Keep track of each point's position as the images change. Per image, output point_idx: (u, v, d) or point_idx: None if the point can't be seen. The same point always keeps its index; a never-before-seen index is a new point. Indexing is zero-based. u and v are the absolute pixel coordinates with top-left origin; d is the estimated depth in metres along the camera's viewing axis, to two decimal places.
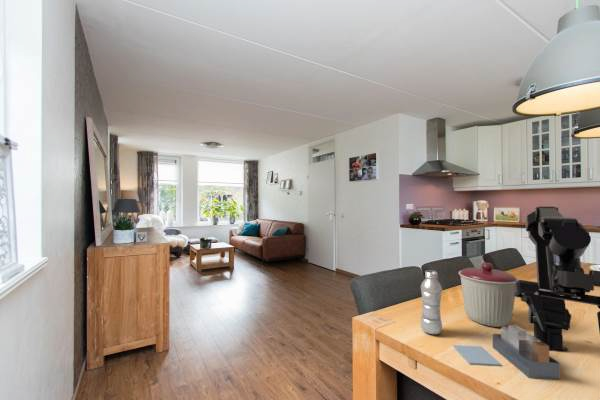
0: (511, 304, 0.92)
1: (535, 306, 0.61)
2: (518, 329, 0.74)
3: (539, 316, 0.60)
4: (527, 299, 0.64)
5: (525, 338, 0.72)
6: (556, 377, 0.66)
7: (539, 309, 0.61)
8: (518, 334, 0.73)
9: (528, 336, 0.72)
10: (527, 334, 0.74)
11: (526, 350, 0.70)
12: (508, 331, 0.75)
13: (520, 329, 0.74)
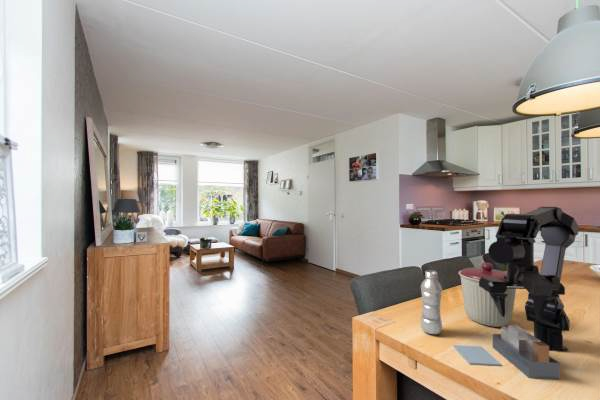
0: (511, 304, 0.92)
1: (500, 300, 0.73)
2: (518, 329, 0.74)
3: (501, 307, 0.74)
4: None
5: (525, 338, 0.72)
6: (556, 377, 0.66)
7: (502, 302, 0.73)
8: (518, 334, 0.73)
9: (528, 336, 0.72)
10: (527, 334, 0.74)
11: (526, 350, 0.70)
12: (508, 331, 0.75)
13: (520, 329, 0.74)
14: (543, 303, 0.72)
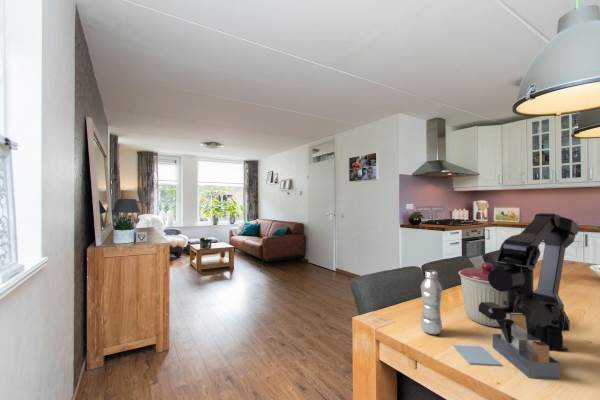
0: None
1: (506, 327, 0.73)
2: (518, 329, 0.74)
3: (507, 333, 0.73)
4: None
5: (525, 338, 0.72)
6: (556, 377, 0.66)
7: (508, 328, 0.73)
8: (518, 334, 0.73)
9: (528, 336, 0.72)
10: (527, 334, 0.74)
11: (526, 350, 0.70)
12: None
13: (520, 329, 0.74)
14: (536, 329, 0.72)
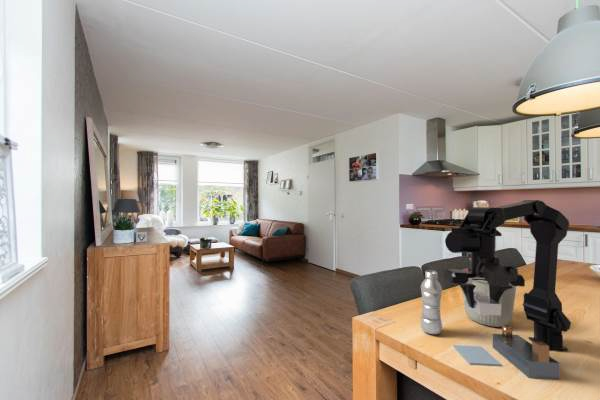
0: (511, 304, 0.92)
1: (469, 292, 0.74)
2: (481, 294, 0.75)
3: (470, 298, 0.75)
4: None
5: (487, 302, 0.73)
6: (556, 377, 0.66)
7: (471, 293, 0.74)
8: (480, 299, 0.75)
9: (489, 301, 0.74)
10: (489, 299, 0.75)
11: (487, 313, 0.72)
12: None
13: (483, 294, 0.75)
14: (497, 294, 0.74)
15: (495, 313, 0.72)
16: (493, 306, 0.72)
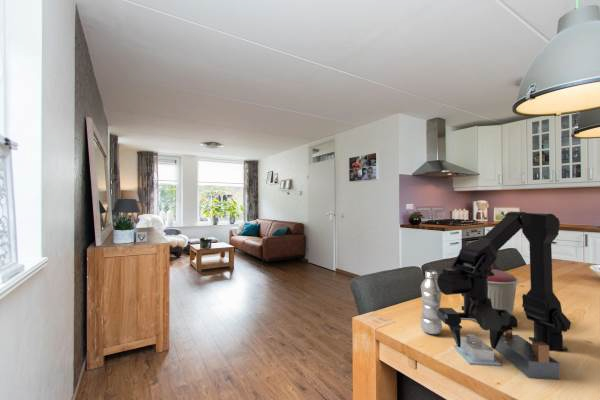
0: (511, 304, 0.92)
1: (455, 332, 0.75)
2: (474, 339, 0.76)
3: (457, 338, 0.75)
4: None
5: (480, 348, 0.73)
6: (556, 377, 0.66)
7: (458, 333, 0.75)
8: (474, 344, 0.75)
9: (483, 346, 0.74)
10: (483, 344, 0.75)
11: (480, 360, 0.72)
12: (465, 340, 0.77)
13: (476, 339, 0.76)
14: (497, 335, 0.74)
15: (488, 359, 0.72)
16: (486, 353, 0.72)
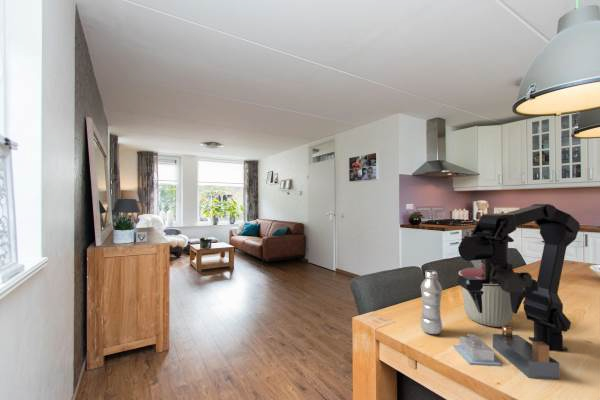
0: None
1: (477, 298, 0.76)
2: (474, 339, 0.76)
3: (478, 304, 0.77)
4: None
5: (480, 348, 0.73)
6: (556, 377, 0.66)
7: (479, 299, 0.76)
8: (474, 344, 0.75)
9: (483, 346, 0.74)
10: (483, 344, 0.75)
11: (480, 360, 0.72)
12: (465, 340, 0.77)
13: (476, 339, 0.76)
14: (518, 299, 0.75)
15: (488, 359, 0.72)
16: (486, 353, 0.72)
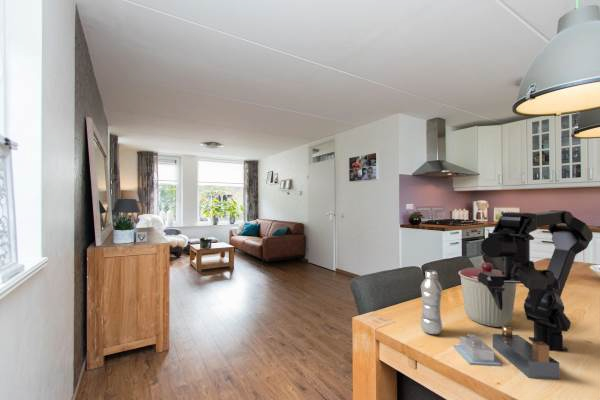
0: (511, 304, 0.92)
1: (498, 294, 0.77)
2: (474, 339, 0.76)
3: (498, 300, 0.77)
4: None
5: (480, 348, 0.73)
6: (556, 377, 0.66)
7: (500, 296, 0.77)
8: (474, 344, 0.75)
9: (483, 346, 0.74)
10: (483, 344, 0.75)
11: (480, 360, 0.72)
12: (465, 340, 0.77)
13: (476, 339, 0.76)
14: (539, 297, 0.76)
15: (488, 359, 0.72)
16: (486, 353, 0.72)
